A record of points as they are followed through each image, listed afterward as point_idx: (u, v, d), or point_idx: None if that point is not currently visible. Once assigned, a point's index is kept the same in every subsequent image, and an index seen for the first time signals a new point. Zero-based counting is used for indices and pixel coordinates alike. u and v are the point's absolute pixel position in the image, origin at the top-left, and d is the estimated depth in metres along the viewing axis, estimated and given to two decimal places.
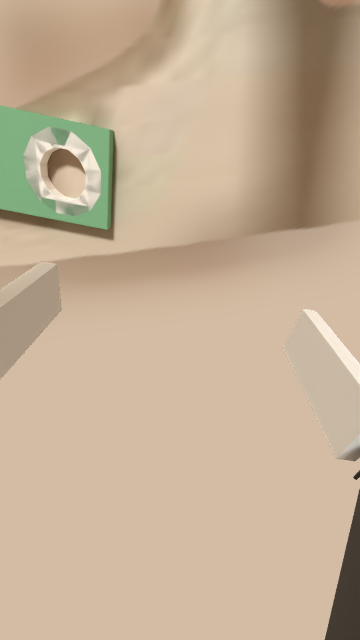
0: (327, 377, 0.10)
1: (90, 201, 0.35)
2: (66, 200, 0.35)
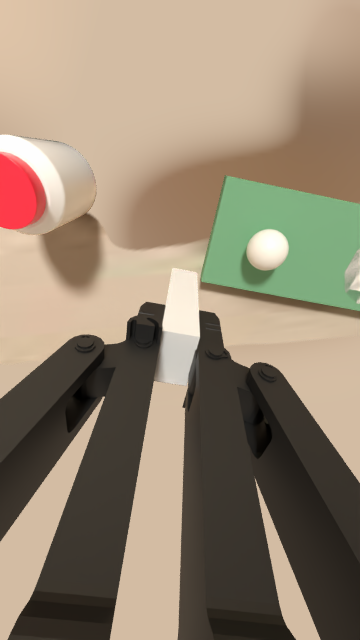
0: None
1: None
2: None
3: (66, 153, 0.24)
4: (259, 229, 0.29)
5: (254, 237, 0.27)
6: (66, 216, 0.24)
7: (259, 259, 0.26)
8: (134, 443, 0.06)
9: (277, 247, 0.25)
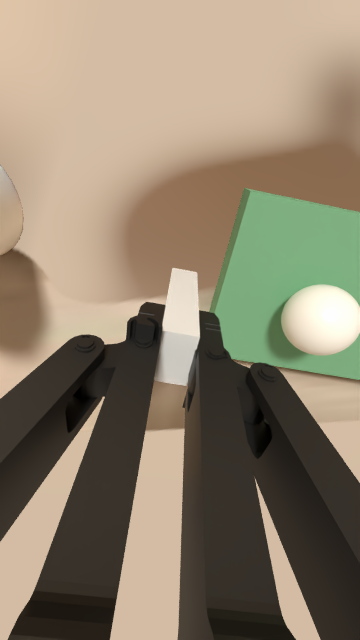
0: None
1: None
2: None
3: None
4: (302, 280, 0.17)
5: (299, 301, 0.15)
6: None
7: (310, 343, 0.14)
8: (134, 443, 0.06)
9: (347, 325, 0.13)
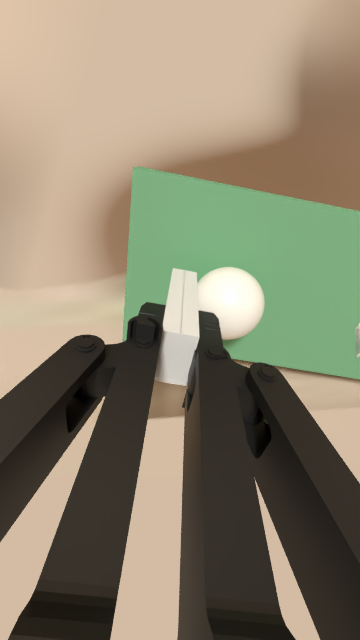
0: None
1: None
2: None
3: None
4: (206, 261, 0.16)
5: (203, 288, 0.14)
6: None
7: None
8: (135, 443, 0.06)
9: (249, 307, 0.13)
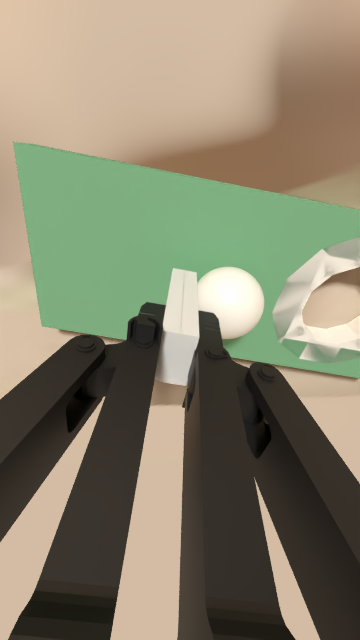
0: None
1: None
2: (328, 342, 0.19)
3: None
4: (107, 242, 0.16)
5: (263, 297, 0.14)
6: None
7: None
8: (134, 444, 0.06)
9: None
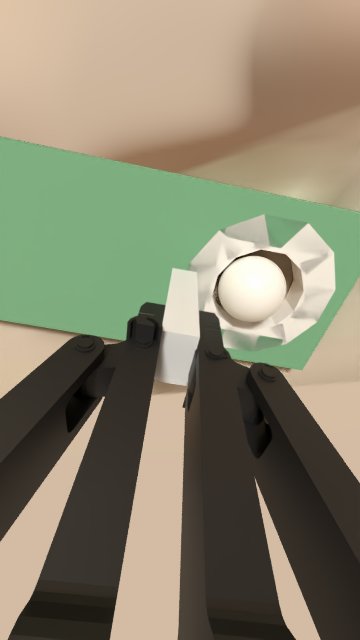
0: None
1: (291, 332, 0.19)
2: (245, 329, 0.19)
3: None
4: (1, 222, 0.15)
5: (235, 269, 0.16)
6: None
7: (249, 306, 0.15)
8: (134, 443, 0.06)
9: (277, 285, 0.15)
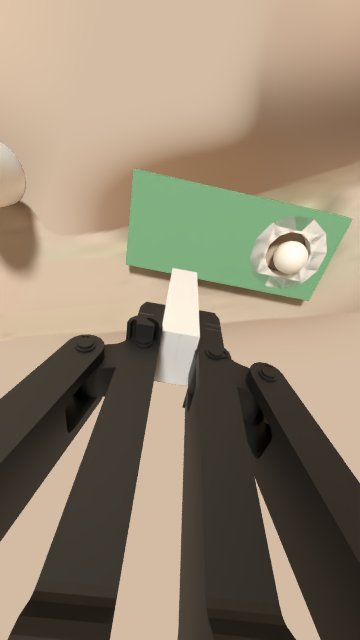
0: None
1: (303, 277, 0.36)
2: (280, 275, 0.36)
3: None
4: (169, 217, 0.32)
5: (289, 251, 0.33)
6: None
7: (296, 268, 0.33)
8: (134, 444, 0.06)
9: (307, 257, 0.33)
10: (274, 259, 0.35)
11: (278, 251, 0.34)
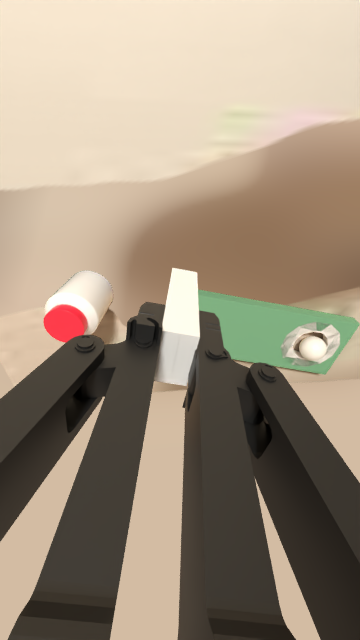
0: None
1: (322, 359, 0.47)
2: (303, 358, 0.47)
3: (97, 286, 0.39)
4: (221, 322, 0.43)
5: (313, 348, 0.43)
6: (97, 326, 0.38)
7: (318, 359, 0.44)
8: (134, 443, 0.06)
9: (326, 350, 0.44)
10: (300, 350, 0.45)
11: (304, 346, 0.44)
